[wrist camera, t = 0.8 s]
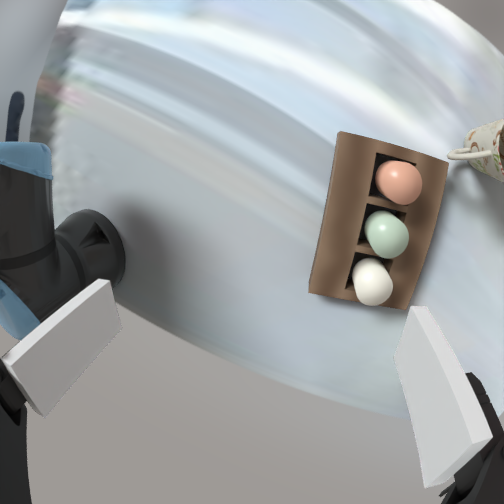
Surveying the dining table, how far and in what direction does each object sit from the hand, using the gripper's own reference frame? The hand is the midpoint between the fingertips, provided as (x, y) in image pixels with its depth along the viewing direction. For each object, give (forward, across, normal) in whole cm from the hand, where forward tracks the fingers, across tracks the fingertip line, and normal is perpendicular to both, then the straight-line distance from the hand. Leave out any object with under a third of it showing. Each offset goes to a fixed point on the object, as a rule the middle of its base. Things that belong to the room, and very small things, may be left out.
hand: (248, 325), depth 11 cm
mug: (+26, +25, +10) cm, 37 cm away
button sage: (+22, +12, -2) cm, 25 cm away
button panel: (+26, +12, -2) cm, 28 cm away
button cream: (+22, +11, -8) cm, 26 cm away
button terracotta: (+22, +12, +4) cm, 26 cm away
